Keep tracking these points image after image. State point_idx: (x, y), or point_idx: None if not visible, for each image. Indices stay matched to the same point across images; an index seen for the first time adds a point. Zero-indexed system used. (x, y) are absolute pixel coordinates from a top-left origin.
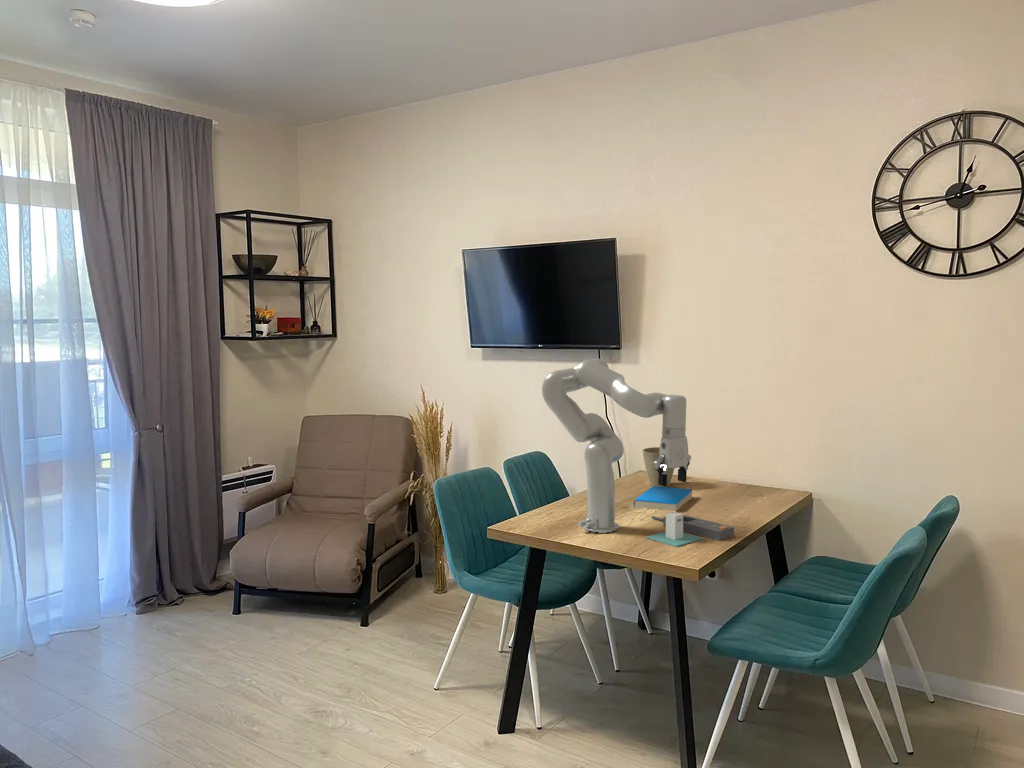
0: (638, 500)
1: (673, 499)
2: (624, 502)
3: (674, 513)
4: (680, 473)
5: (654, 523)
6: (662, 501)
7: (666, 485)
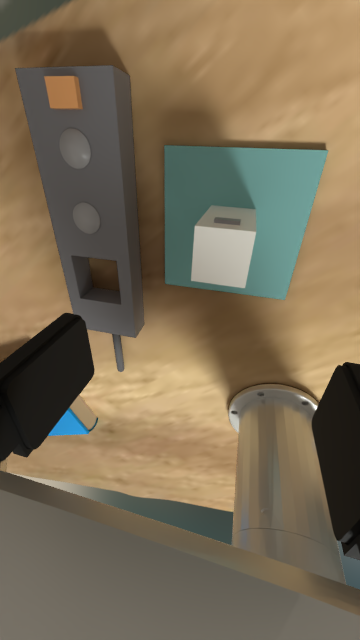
0: (84, 427)
1: None
2: (89, 439)
3: (214, 262)
4: (50, 401)
5: (147, 347)
6: None
7: (354, 363)
